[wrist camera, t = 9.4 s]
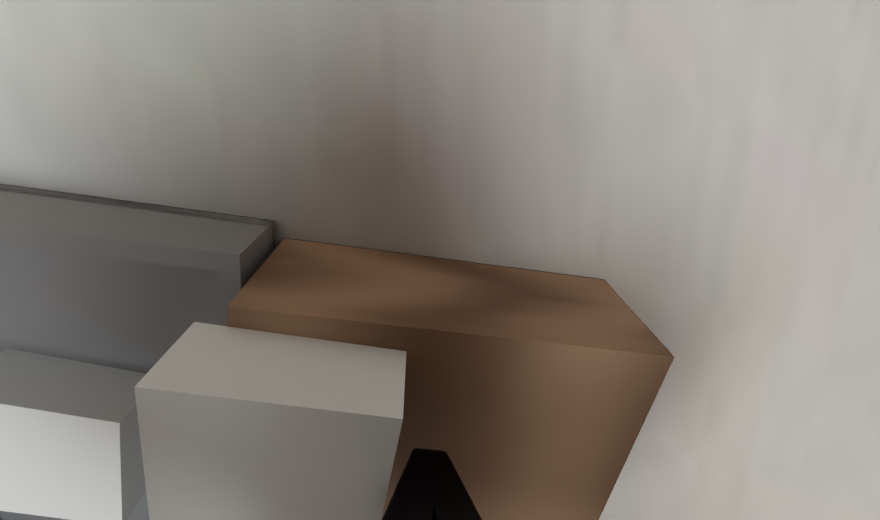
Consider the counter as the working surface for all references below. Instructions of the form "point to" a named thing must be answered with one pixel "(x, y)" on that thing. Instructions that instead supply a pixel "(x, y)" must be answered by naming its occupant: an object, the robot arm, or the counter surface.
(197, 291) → the tray
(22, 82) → the counter surface
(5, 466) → the tile
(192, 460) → the tile
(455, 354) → the brown wooden block
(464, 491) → the robot arm
